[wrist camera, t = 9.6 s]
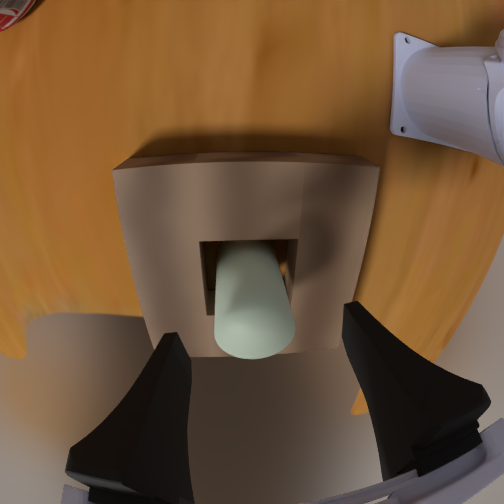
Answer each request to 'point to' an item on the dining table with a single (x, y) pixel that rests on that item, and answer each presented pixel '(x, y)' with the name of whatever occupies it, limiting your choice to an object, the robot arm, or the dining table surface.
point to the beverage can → (13, 11)
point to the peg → (251, 300)
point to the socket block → (245, 235)
